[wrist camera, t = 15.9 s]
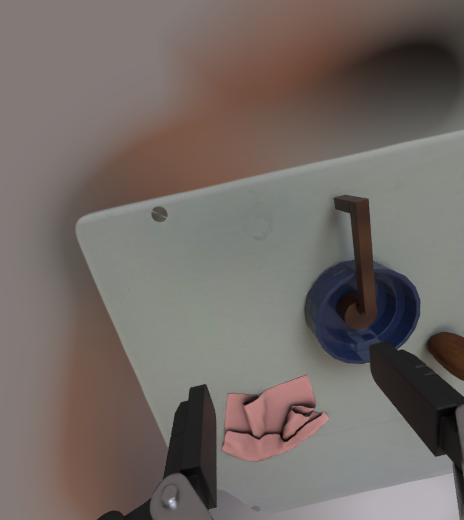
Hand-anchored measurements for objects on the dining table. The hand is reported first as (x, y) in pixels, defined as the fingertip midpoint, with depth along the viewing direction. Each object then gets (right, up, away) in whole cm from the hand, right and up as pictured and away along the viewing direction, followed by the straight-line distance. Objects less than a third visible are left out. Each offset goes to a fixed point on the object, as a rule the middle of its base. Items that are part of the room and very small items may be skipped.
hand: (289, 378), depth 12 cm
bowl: (+17, -2, +29) cm, 34 cm away
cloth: (+6, -25, +35) cm, 44 cm away
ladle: (+15, +5, +26) cm, 30 cm away
